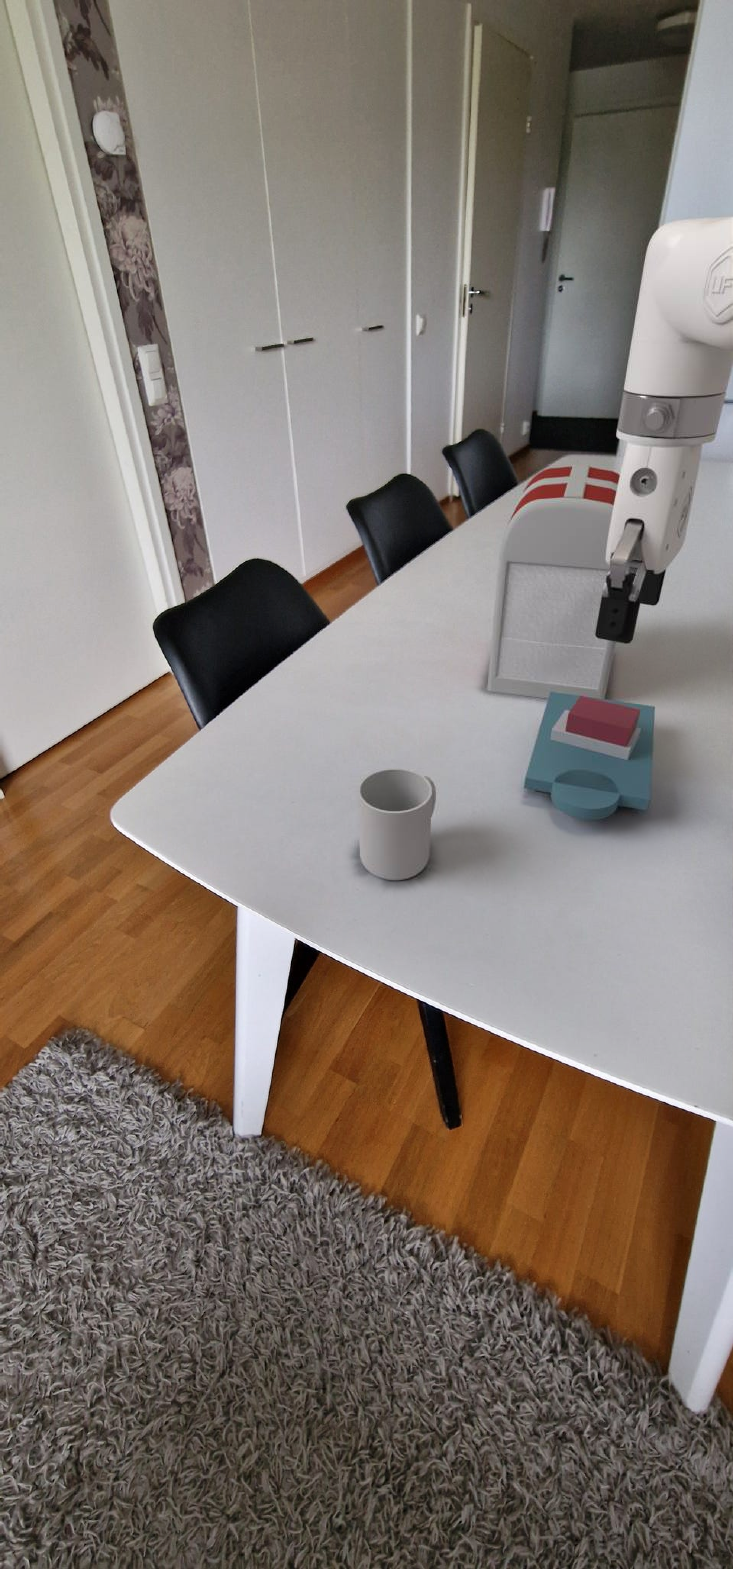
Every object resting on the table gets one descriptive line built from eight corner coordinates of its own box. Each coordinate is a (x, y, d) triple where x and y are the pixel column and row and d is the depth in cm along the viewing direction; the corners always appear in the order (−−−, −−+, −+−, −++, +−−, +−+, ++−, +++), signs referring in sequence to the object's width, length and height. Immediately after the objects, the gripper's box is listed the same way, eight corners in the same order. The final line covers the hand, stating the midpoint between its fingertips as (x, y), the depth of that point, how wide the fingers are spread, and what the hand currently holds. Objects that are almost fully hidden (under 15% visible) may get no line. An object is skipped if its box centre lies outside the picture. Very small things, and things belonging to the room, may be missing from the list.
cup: (345, 861, 73) (341, 793, 67) (405, 813, 79) (406, 747, 73) (400, 893, 69) (400, 823, 64) (458, 840, 75) (463, 773, 70)
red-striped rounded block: (484, 691, 100) (502, 493, 84) (502, 639, 114) (520, 460, 98) (605, 706, 96) (647, 501, 80) (608, 650, 110) (646, 465, 94)
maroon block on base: (638, 739, 82) (645, 709, 80) (627, 760, 79) (634, 730, 77) (563, 720, 86) (568, 691, 84) (550, 739, 83) (554, 710, 80)
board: (546, 717, 94) (550, 691, 92) (648, 733, 91) (655, 706, 88) (515, 824, 77) (519, 796, 74) (640, 849, 73) (649, 820, 71)
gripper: (697, 440, 48) (646, 665, 58) (736, 403, 60) (688, 596, 70) (588, 433, 52) (558, 647, 62) (646, 399, 63) (613, 584, 73)
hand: (627, 620), depth 66 cm, fingers open, 9 cm apart
